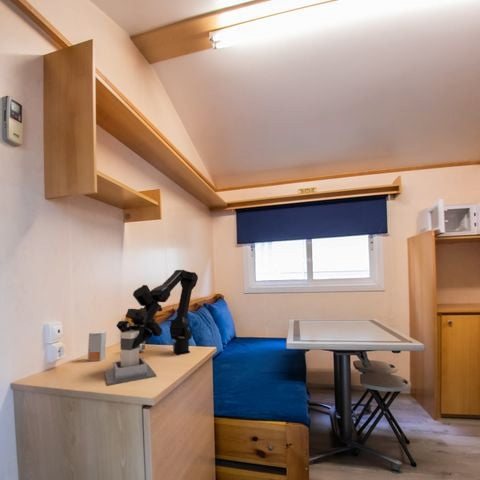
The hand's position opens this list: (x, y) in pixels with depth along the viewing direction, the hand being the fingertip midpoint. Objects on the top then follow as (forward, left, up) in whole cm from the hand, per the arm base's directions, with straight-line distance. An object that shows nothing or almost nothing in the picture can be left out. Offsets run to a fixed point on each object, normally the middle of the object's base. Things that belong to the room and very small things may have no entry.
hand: (127, 347), depth 105 cm
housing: (-1, -1, -10) cm, 10 cm away
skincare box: (+9, -32, -10) cm, 35 cm away
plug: (-1, -1, -7) cm, 7 cm away
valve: (-9, -36, -10) cm, 38 cm away
